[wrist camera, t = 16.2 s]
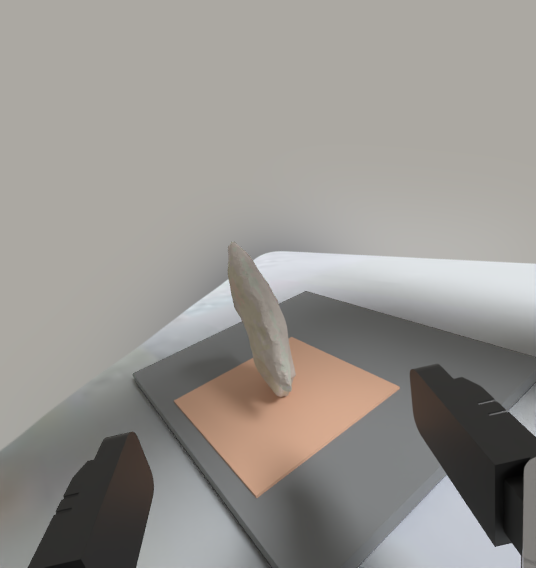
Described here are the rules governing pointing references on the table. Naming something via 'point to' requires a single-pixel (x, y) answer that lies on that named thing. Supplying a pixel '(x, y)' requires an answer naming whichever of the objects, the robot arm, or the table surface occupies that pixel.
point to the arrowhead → (261, 321)
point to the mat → (321, 425)
